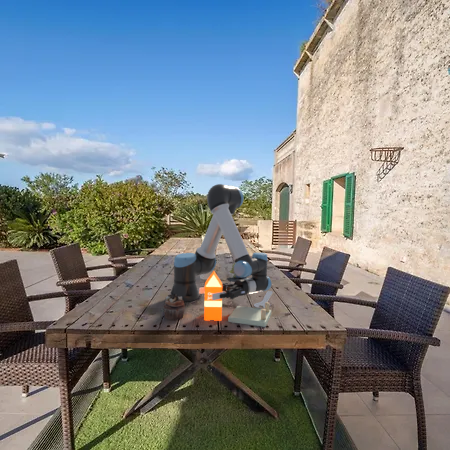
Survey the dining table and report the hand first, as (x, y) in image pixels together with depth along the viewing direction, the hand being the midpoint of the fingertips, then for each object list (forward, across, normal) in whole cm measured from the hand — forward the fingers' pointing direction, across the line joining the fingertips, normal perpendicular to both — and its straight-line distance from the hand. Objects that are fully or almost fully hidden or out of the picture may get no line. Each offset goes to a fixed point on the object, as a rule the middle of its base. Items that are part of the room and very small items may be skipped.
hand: (205, 293), depth 127 cm
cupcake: (+10, +10, -11) cm, 18 cm away
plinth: (-18, -10, -11) cm, 23 cm away
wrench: (-43, +6, -12) cm, 45 cm away
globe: (-65, +54, -11) cm, 85 cm away
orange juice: (-4, 0, -11) cm, 12 cm away
